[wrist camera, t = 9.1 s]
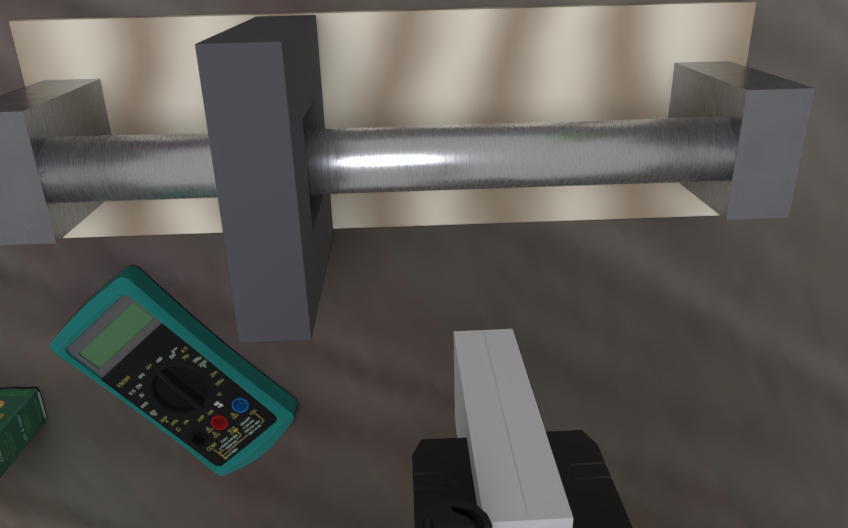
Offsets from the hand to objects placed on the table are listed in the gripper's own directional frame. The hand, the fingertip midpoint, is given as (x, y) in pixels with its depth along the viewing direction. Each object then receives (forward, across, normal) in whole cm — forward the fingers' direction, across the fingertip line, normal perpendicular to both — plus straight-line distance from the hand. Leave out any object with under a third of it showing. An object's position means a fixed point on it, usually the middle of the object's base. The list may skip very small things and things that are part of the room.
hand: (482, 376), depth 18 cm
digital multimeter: (+25, +17, +14) cm, 33 cm away
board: (+24, +2, -2) cm, 24 cm away
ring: (+22, +7, -2) cm, 24 cm away
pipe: (+24, +2, -2) cm, 24 cm away
